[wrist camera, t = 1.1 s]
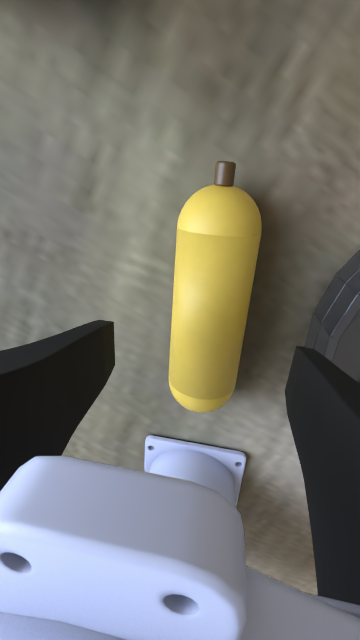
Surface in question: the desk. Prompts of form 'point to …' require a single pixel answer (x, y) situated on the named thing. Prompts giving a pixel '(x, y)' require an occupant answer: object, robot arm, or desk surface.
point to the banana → (212, 291)
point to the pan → (339, 320)
